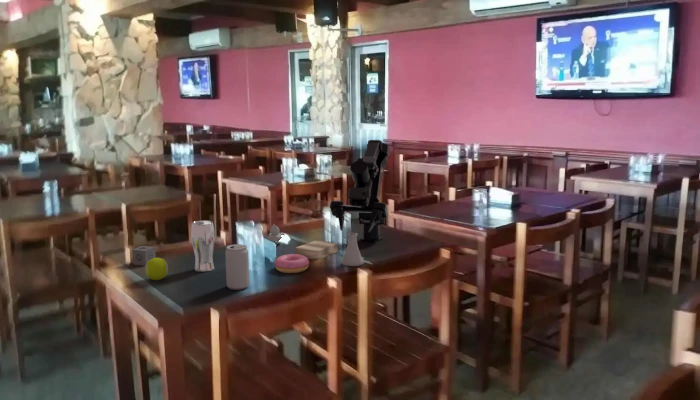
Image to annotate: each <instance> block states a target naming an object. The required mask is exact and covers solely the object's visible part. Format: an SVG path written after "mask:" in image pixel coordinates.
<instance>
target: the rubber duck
mask: <svg viewBox="0 0 700 400" xmlns="http://www.w3.org/2000/svg"><path fill="white" fill-rule="evenodd" d="M269 232H270V233H269V235H268V237H267V240H268V239H270V240H272V241H277V242H278V241H279V240H280V239H281V238H282V237H281V235H284V236H285V233H284V232H280V228H279V227H278V226H277V225H275V223H273V224H272V226H271V228H270V230H269ZM281 243H282V242H280V243H276V245H279V244H281Z"/></svg>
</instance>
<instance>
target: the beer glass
mask: <svg viewBox="0 0 700 400" xmlns="http://www.w3.org/2000/svg"><path fill="white" fill-rule="evenodd" d="M190 232H191V233H190V236H191V245H192V248H193V252H194V256H195V257H194V259H195V262H194V263H195V264H194V271H195V272H197V273H205V272H206V273H207V272H211V271H214V270H215V264H214V256H213V255H214V248H215V227H214V221H213V220H207V219H206V220H196V221H195V220H194V221H192V222H191V231H190Z"/></svg>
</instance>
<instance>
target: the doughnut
mask: <svg viewBox="0 0 700 400" xmlns="http://www.w3.org/2000/svg"><path fill="white" fill-rule="evenodd" d="M273 264H274V266H275V269H276V270H277V271H278V272H280V273H283V274H297V273H298V274H299V273H302V272H305V271H306V270H307V269H308V268H309V265H310V260H309V259H308V258H307V257H305V256H303V255H300V254H296V253H288V254H283V255H280V256H278V257H277V258H276V259H275V260H274V263H273Z"/></svg>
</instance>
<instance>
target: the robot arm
mask: <svg viewBox="0 0 700 400" xmlns="http://www.w3.org/2000/svg"><path fill="white" fill-rule="evenodd" d="M390 152H391V150H390V147H389V144H387V143H385V142H383V141H382V140H381V139H370V140H369V139H368V141H367V144H366V149H365V151H364V155H363V157H361V158H359V157H358V158H357V160H355V161H353V162H352V164H351V165H350V167H349V168H350V172H351V177H352V180H353V182H354V186H353V187H349V188H348V198H349V201H348V202H349V204H344V202H343V200H331V202H330V203H329V210H330V212H331V215H332V216H333V217H335V218H336V219H338V224H339V230H340V232H342V231H343V228H344V223H345V213H346V212H353V213H354V212H355V213H358V221H359V222H358V224H359V225H363V231H362V233H363V234H362V236H363V237H360V238H359V240H360V241H366V242H372V243H376V242H378V241H380V240H383V239H384V237H383V236H380V226H383V225H385V223H386V221H385V219H387V218H388V207H387V204H386V203H385V202H380V201H379V197H380V195H379V194H380V189H381V188H380V187H381V183H382V181H381V180H382V172H383V167H384V166H385V165H386V164H387V163H388V158H389V157H390V156H391V155H390V154H391V153H390Z"/></svg>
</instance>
